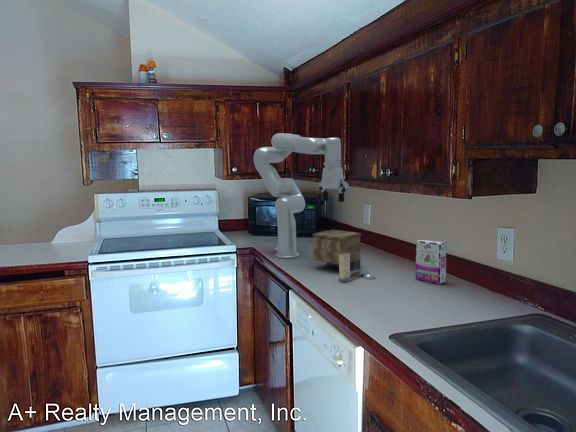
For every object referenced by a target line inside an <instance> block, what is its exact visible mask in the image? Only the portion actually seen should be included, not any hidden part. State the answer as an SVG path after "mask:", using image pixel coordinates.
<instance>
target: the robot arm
mask: <svg viewBox="0 0 576 432" xmlns="http://www.w3.org/2000/svg"><path fill="white" fill-rule="evenodd" d="M270 140H271V141H270V143H271V145H272V146H262V147H259V148H257V149H256V150H255V151H254V153H253V154H254V155H253V164H254V167H255V169H256V171H257V172H258V174H259V175H260V177H261V179H262V180H263V182H264V184H265V186H266V188H267V190H268V191H269V193H270V195H271V196H272V197H276V198H277V197H278V198H277V199H276V201H275V202H274V209H275V212H276V213H275V214H276V220H277V246H275V247H274V251H276V253H275V257H276V258H280V259H294V258H298V257H300V252H298V251H297V224H296V222H297V221H296V218H295V216H294V214H297V213H301V212H303V211H304V209H305V207H306V201H305V198H304V196H303V194H302V192H301V190H300V189H299V187H298V185H297V183H296V182H295V181H294V180H293V179H291V178H290V177H289V178H288V177H285V178H284V177H281V176H280V175H279V173H278V170H276V168H275V167H273V165H271V164H278V163H281V162H283V161H284V160H285V159H286V158H287V157H288V156H289V155H290V154H291V153H293V152H294V153H299V154H307V155H324V162H323V165H324V167H323V169H322V173H321V174H322V175H321V181H319V183H318V187H319V189H320V191H321V193H322V201H323V202H329V201H328V200H329V192H328V191H329V190H338V202H339V203H342V202H345V194H346V191H348V188H349V183H348V182H347V181H345V180H344V173H343V167H342V161H341V160H342V141H341V138H339V137H327V138H324V137H323V138H320V137H307V136H306V137H305V136H304V137H303V136H301V135H300V134H293V133H288V132H287V133H283V132H279V133H275V134H274V135H273V136H272V138H271V139H270Z"/></svg>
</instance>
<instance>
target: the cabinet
mask: <svg viewBox="0 0 576 432" xmlns="http://www.w3.org/2000/svg"><path fill="white" fill-rule="evenodd" d="M361 236H362V233H361V232H355V231H349V230H348V231H346V230H339V229H330V230H325V231H324V230H323V231H319V232H315V233H312V255H313V256H312V257H313V259H312V260H314V261H317V262H318V261H319V262H322V263H326V265H327V266H333V267H337V268H339V254H342V253H350V271H351V270H352V271H355V270H358V269H361Z"/></svg>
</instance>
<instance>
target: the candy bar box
mask: <svg viewBox="0 0 576 432" xmlns="http://www.w3.org/2000/svg"><path fill="white" fill-rule="evenodd" d="M415 280H417V281H421V282H425V283H430V284H435V285H443V284H445V283H447V281H446V280H447V242H445V241H437V240H430V239H418V240H415Z"/></svg>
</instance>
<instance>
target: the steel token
mask: <svg viewBox="0 0 576 432" xmlns="http://www.w3.org/2000/svg"><path fill="white" fill-rule="evenodd" d="M362 279H364V280H374V279H376V273H372V272H369V273H364V274H363V277H362Z"/></svg>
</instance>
